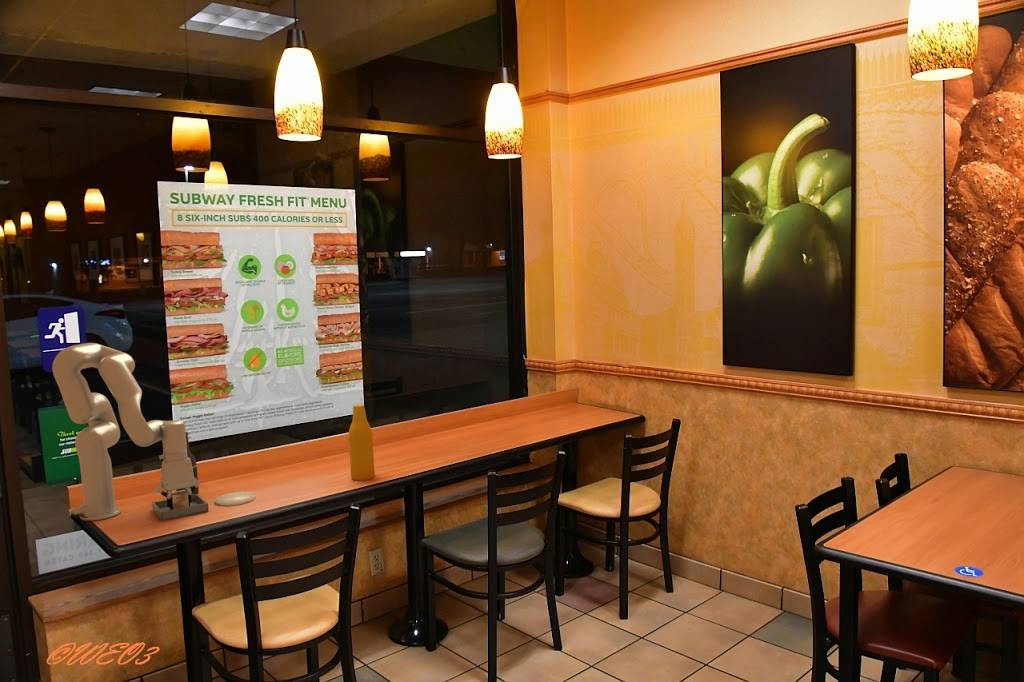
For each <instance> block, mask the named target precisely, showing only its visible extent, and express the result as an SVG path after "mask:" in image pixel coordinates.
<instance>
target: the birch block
mask: <svg viewBox="0 0 1024 682" xmlns="http://www.w3.org/2000/svg"><path fill="white" fill-rule="evenodd" d="M171 498H172V503H173V510H174V509H179V508H184V507H189V501H188V493H187V492H186V491H185V490H181V491H176V490H174V491H172V493H171Z"/></svg>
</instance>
